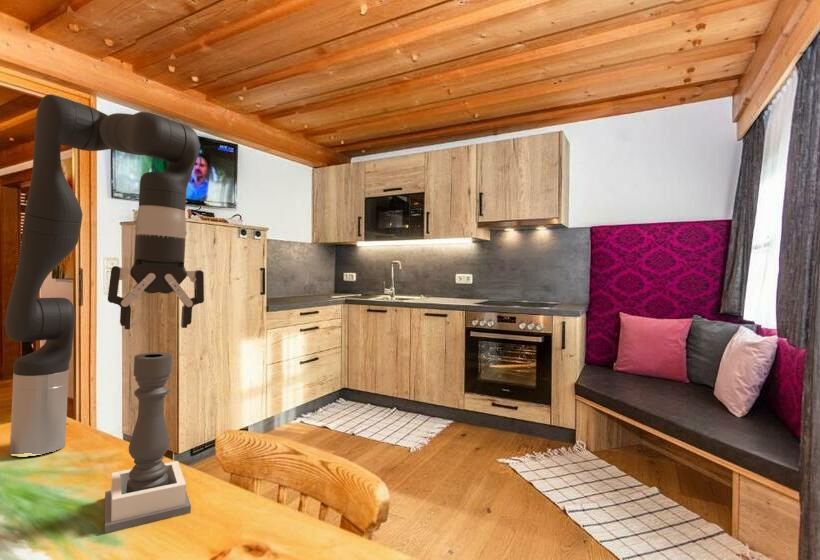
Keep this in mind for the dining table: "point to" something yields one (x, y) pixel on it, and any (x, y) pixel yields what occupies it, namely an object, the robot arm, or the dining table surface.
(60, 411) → the robot arm
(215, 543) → the dining table surface
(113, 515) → the socket dock
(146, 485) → the candle holder
